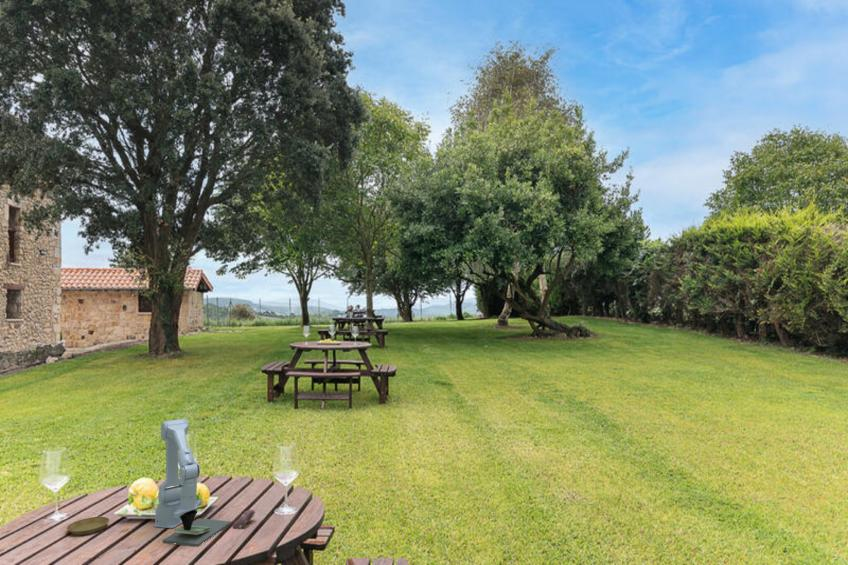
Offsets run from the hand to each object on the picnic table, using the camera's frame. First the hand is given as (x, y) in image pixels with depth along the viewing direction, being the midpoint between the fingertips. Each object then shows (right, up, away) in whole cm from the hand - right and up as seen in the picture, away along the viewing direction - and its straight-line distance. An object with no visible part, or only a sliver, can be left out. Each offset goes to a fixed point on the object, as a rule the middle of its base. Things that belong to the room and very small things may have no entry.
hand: (187, 530), depth 198 cm
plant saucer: (-46, -5, +9) cm, 47 cm away
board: (+1, -4, +7) cm, 8 cm away
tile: (+1, -1, +4) cm, 4 cm away
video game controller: (+17, -5, +15) cm, 24 cm away
